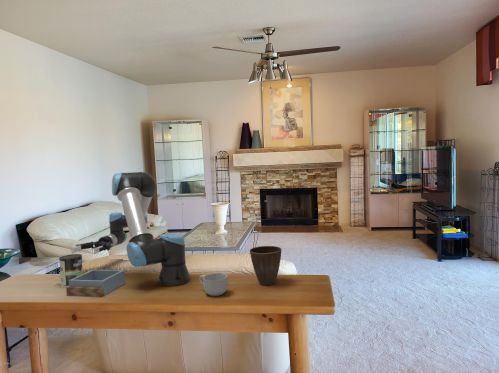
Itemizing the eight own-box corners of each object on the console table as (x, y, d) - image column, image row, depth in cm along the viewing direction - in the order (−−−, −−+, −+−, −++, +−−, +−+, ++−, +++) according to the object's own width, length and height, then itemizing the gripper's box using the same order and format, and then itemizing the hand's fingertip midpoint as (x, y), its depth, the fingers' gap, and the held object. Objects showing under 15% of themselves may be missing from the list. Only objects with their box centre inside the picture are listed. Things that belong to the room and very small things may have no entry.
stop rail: (104, 296, 165) (103, 287, 165) (101, 297, 163) (101, 288, 163) (69, 294, 169) (68, 286, 169) (66, 296, 167) (66, 287, 167)
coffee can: (88, 281, 189) (86, 253, 189) (74, 287, 179) (72, 259, 179) (70, 280, 192) (68, 253, 191) (56, 287, 181) (54, 258, 181)
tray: (125, 283, 182) (124, 270, 181) (103, 295, 165) (102, 281, 165) (93, 282, 186) (93, 269, 185) (69, 294, 169) (68, 280, 168)
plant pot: (264, 290, 164) (262, 254, 163) (244, 282, 176) (243, 249, 175) (289, 283, 173) (288, 249, 172) (269, 276, 185) (267, 244, 184)
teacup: (233, 292, 163) (232, 274, 162) (214, 300, 155) (214, 281, 154) (212, 286, 172) (211, 269, 172) (194, 293, 164) (193, 275, 164)
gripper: (127, 248, 213) (104, 258, 192) (89, 248, 218) (63, 257, 198) (126, 235, 212) (103, 244, 191) (88, 235, 218) (62, 243, 197)
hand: (83, 250), depth 194 cm, fingers open, 13 cm apart
